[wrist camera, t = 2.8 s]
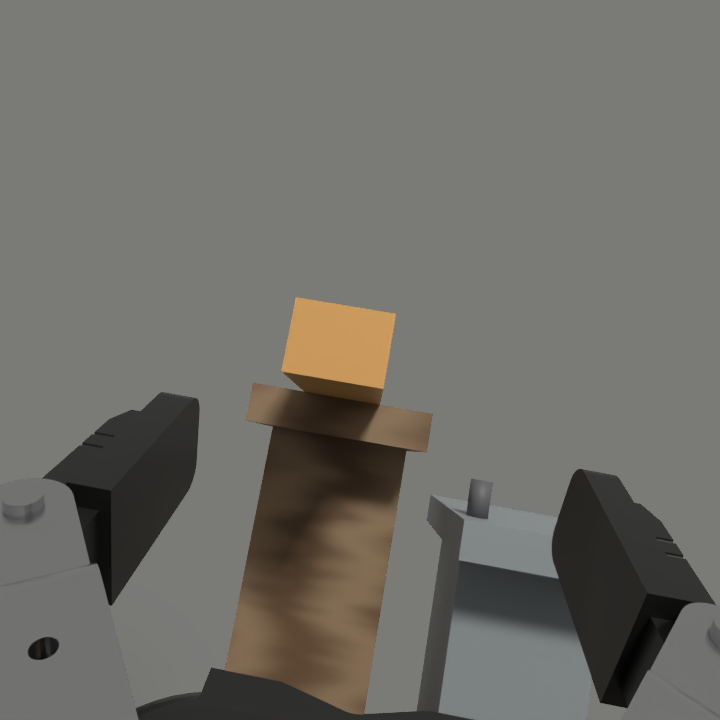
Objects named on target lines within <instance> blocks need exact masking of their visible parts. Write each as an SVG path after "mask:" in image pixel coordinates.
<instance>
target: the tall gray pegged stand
mask: <svg viewBox="0 0 720 720" xmlns="http://www.w3.org/2000/svg"><path fill="white" fill-rule="evenodd" d="M492 485H493V483H492V482H486V481H481V480H475V479H471V484H470V491H469V498H468V501H464V500H459V499H453V498H448V497H442V496H437V495H431V497H430V503H429V510H428V517H427V521H428V522H429V524H430V525H431V526H432V527H433V529H434V530H435V531H436V532H437V534H438V535H439V536H440V537H441V539H442V544H441V551H440V557H439V564H438V571H437V578H436V585H435V591H434V598H433V605H432V612H431V618H430V625H429V632H428V639H427V646H426V652H425V659H424V666H423V672H422V679H421V686H420V693H419V700H418V706H417V711H433V712H438V713H443V714H448V715H453V716H458V717H463V718H469V719H474V720H587V716H588V715H587V714H588V706H589V696H590V687H591V678H592V677H591V674H590V671H589V668H588V665H587V662H586V659H585V656H584V653H583V650H582V647H581V644H580V641H579V638H578V635H577V632H576V629H575V626H574V623H573V620H572V617H571V614H570V611H569V608H568V605H567V602H566V599H565V596H564V593H563V590H562V587H561V584H560V581H559V578H558V575H557V572H556V569H555V566H554V563H553V558H552V537H553V532H554V529H555V526H556V523H557V520H558V518H556V517H553V516H548V515H542V514H537V513H531V512H525V511H520V510H514V509H508V508H503V507H498V506H492V505H490V499H491V492H492Z"/></svg>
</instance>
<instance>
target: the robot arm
mask: <svg viewBox="0 0 720 720" xmlns="http://www.w3.org/2000/svg"><path fill="white" fill-rule="evenodd" d="M198 426H199V402H198V399H196V398H192V397H187V396H181V395H175V394H169V393H164V392H161V393H160V394H158V395H157V396H156V397H155V398H154V399H153V400H152V401H151V402H150V403H149V404H148V405H147V406H146V407H145V408H144V409H143V410H142V411H135V410H130V411H128V412H125V413H123V414H121V415H118V416H116V417H113V418H111V419H109V420H108V421H107V422H106V423H105V424H103V425H102V426H101V427H100V428H99V429H98V430H97V431H95V434H94V435H91V436H90V437H89V438H88V439H86V440H85V441H84V442H83V444H82V446H78V447H77V448H76V449H75V450H74V451H73V452H72V453H70V454H69V455H68V456H67V457H66V458H65V459H64V460H63V461H61V462H60V463H59V464H58V465H57V466H56V467H54V468H53V469H52V470H51V471H50V472H49V473H48V474H47V475H45V476H44V477H43V478H42V479H41V478H35V479H33V478H32V479H22V480H16V481H12V482H8V483H5V484H2V485H0V720H474V719H469V718H463V717H458V716H453V715H448V714H443V713H438V712H433V711H416V712H397V713H379V714H352V713H349V712H346V711H344V710H342V709H339V708H337V707H335V706H333V705H331V704H329V703H327V702H324V701H322V700H320V699H318V698H316V697H314V696H312V695H309V694H307V693H305V692H303V691H301V690H299V689H296V688H294V687H292V686H290V685H288V684H286V683H284V682H281V681H276V680H271V679H266V678H261V677H256V676H251V675H246V674H241V673H235V672H230V671H225V670H220V669H215V668H211V670H210V672H209V675H208V677H207V680H206V682H205V685H204V688H203V690H202V692H197V693H187V694H181V695H175V696H170V697H167V698H163V699H160V700H156V701H153V702H150V703H148V704H145V705H143V706H140V707H138V708H135V704H134V701H133V696H132V693H131V689H130V685H129V681H128V678H127V674H126V669H125V666H124V662H123V658H122V654H121V650H120V646H119V642H118V639H117V635H116V631H115V627H114V623H113V620H112V616H111V612H110V608H109V605H112V604H113V603H114V601H115V600H116V598H117V597H118V595H119V594H120V592H121V591H122V589H123V588H124V586H125V585H126V583H127V582H128V580H129V579H130V577H131V576H132V574H133V573H134V571H135V570H136V568H137V567H138V565H139V564H140V562H141V561H142V559H143V558H144V556H145V555H146V553H147V552H148V550H149V549H150V547H151V546H152V544H153V543H154V541H155V539H156V538H157V537H158V535H159V534H160V532H161V531H162V529H163V528H164V526H165V525H166V523H167V522H168V520H169V519H170V517H171V516H172V514H173V513H174V511H175V510H176V508H177V507H178V505H179V504H180V502H181V501H182V499H183V498H184V496H185V495H186V493H187V492H188V490H189V488H190V486H191V483H192V481H193V477H194V473H195V469H196V460H197V443H198ZM552 558H553V563H554V566H555V569H556V572H557V575H558V578H559V581H560V584H561V587H562V590H563V593H564V596H565V599H566V602H567V605H568V608H569V611H570V614H571V617H572V620H573V623H574V626H575V629H576V632H577V635H578V638H579V641H580V644H581V647H582V650H583V653H584V656H585V659H586V662H587V665H588V668H589V671H590V674H591V677H592V680H593V683H594V686H595V689H596V692H597V695H598V698H599V701H600V703H604V704H610V705H614V706H619V707H625V708H627V710H626V712H625V714H624V716H623V718H622V720H720V606H717V605H716V604H715V603H714V601H713V600H712V598H711V597H710V595H709V594H708V592H707V591H706V589H705V588H704V586H703V585H702V583H701V581H700V580H699V578H698V577H697V575H696V574H695V572H694V571H693V569H692V568H691V566H690V565H689V563H688V562H687V560H686V559H683V554H682V553H681V551H680V550H679V548H678V547H677V545H676V544H674V543H673V539H672V537H671V536H670V534H669V533H668V531H667V530H666V528H665V527H664V525H663V524H662V522H661V521H660V520H659V519H657V518H656V517H655V516H653V514H651V513H650V512H649V511H648V510H647V509H646V508H644V507H643V506H642V505H641V504H637V503H634V502H633V500H632V499H631V497H630V495H629V494H628V492H627V490H626V489H625V487H624V486H623V484H622V483H621V481H620V479H619V478H618V477H617V476H615V475H610V474H605V473H599V472H593V471H588V470H583V469H578V470H577V471H576V472H575V473H574V474H573V476H572V479H571V481H570V484H569V487H568V490H567V493H566V496H565V499H564V502H563V505H562V508H561V511H560V514H559V517H558V520H557V523H556V526H555V529H554V532H553V537H552Z"/></svg>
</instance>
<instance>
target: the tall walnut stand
mask: <svg viewBox="0 0 720 720" xmlns="http://www.w3.org/2000/svg"><path fill="white" fill-rule="evenodd" d="M432 415H433V414H429V413H424V412H418V411H412V410H407V409H400V408H394V407H389V406H383V405H378V404H372V403H366V402H360V401H355V400H349V399H343V398H337V397H332V396H326V395H320V394H314V393H309V392H302V391H297V390H291V389H286V388H280V387H274V386H268V385H263V384H256V383H253V385H252V390H251V395H250V400H249V405H248V410H247V414H246V419H245V420H247V421H251V422H256V423H260V424H264V425H269V426H273V430H272V434H271V439H270V444H269V449H268V454H267V460H266V464H265V470H264V475H263V480H262V485H261V490H260V495H259V500H258V505H257V510H256V515H255V520H254V525H253V530H252V535H251V541H250V546H249V551H248V556H247V561H246V566H245V571H244V576H243V582H242V586H241V591H240V596H239V601H238V607H237V612H236V617H235V622H234V627H233V632H232V637H231V642H230V647H229V652H228V657H227V662H226V667H225V671H230V672H235V673H241V674H246V675H251V676H256V677H261V678H266V679H271V680H276V681H281V682H284V683H286V684H288V685H290V686H292V687H294V688H296V689H299V690H301V691H303V692H305V693H307V694H309V695H312V696H314V697H316V698H318V699H320V700H322V701H324V702H327V703H329V704H331V705H333V706H335V707H337V708H339V709H342V710H344V711H346V712H349V713H352V714H364V710H365V704H366V698H367V691H368V685H369V679H370V673H371V666H372V661H373V654H374V648H375V642H376V635H377V629H378V623H379V617H380V611H381V604H382V598H383V592H384V586H385V580H386V574H387V567H388V561H389V555H390V548H391V542H392V536H393V530H394V524H395V517H396V511H397V505H398V499H399V493H400V486H401V480H402V474H403V468H404V462H405V455H406V451H414V452H427V447H428V441H429V434H430V427H431V421H432Z"/></svg>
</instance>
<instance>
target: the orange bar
mask: <svg viewBox="0 0 720 720" xmlns="http://www.w3.org/2000/svg"><path fill="white" fill-rule="evenodd" d="M395 317H396V314H393V313H387V312H381V311H375V310H369V309H363V308H357V307H351V306H345V305H339V304H333V303H327V302H321V301H315V300H309V299H302V298H296V301H295V306H294V311H293V316H292V321H291V326H290V331H289V336H288V341H287V346H286V351H285V356H284V361H283V366H282V372H283V373H284V374H285V375H286V376H287V377H288V378H290V379H291V380H292V381H293V382H294V383H295V384H296V385H298V386H299V387H300V388H301V389H302V390H303V391H304V392H309V393H314V394H320V395H326V396H332V397H337V398H343V399H349V400H355V401H360V402H366V403H372V404H378V405H380V401H381V397H382V392H383V388H384V382H385V376H386V370H387V364H388V358H389V352H390V346H391V341H392V335H393V328H394V323H395Z"/></svg>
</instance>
